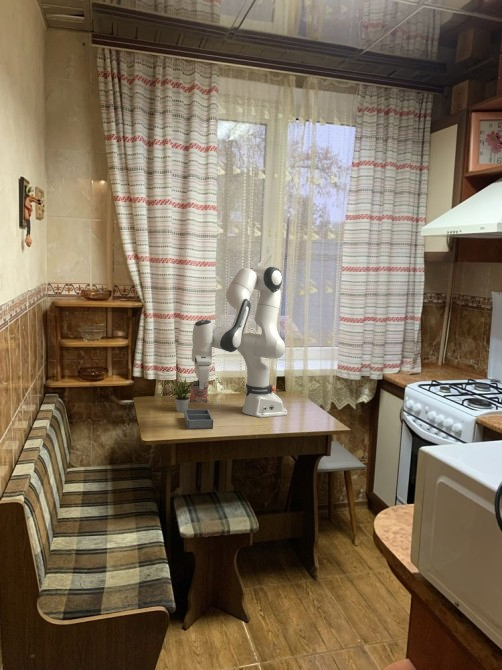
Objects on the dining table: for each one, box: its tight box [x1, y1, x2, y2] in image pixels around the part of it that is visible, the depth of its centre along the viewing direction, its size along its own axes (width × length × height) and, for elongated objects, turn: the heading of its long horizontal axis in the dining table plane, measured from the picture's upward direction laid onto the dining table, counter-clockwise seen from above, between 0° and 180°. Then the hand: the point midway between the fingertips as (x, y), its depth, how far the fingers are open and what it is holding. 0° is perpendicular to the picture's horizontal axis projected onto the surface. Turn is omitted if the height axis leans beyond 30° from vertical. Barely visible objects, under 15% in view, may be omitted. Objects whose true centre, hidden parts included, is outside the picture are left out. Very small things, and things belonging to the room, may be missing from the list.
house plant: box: [170, 377, 194, 413], centre depth 254 cm, size 14×14×16 cm
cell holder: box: [183, 408, 214, 431], centre depth 239 cm, size 11×16×4 cm
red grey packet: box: [189, 379, 209, 404], centre depth 233 cm, size 8×3×10 cm, turn 107°
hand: (200, 387), depth 233 cm, fingers closed on red grey packet, 3 cm apart
